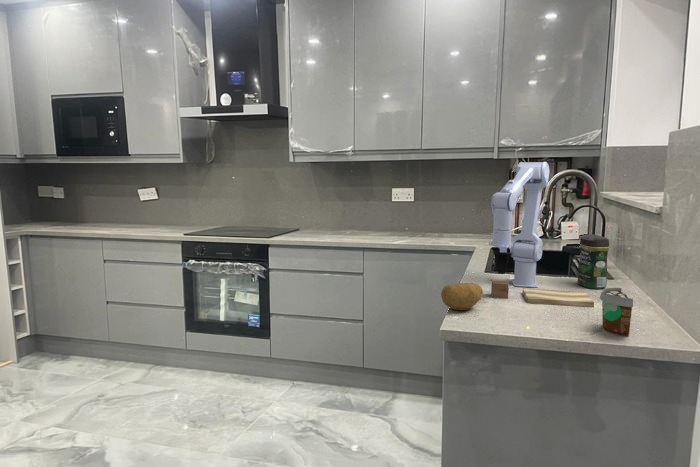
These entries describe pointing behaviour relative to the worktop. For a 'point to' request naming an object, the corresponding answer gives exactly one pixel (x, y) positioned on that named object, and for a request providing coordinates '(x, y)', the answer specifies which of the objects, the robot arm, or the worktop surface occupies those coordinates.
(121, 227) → the worktop surface
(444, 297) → the potato
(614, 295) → the food container
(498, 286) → the walnut cube
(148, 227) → the worktop surface
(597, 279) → the coffee jar
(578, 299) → the oak board
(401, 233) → the worktop surface
